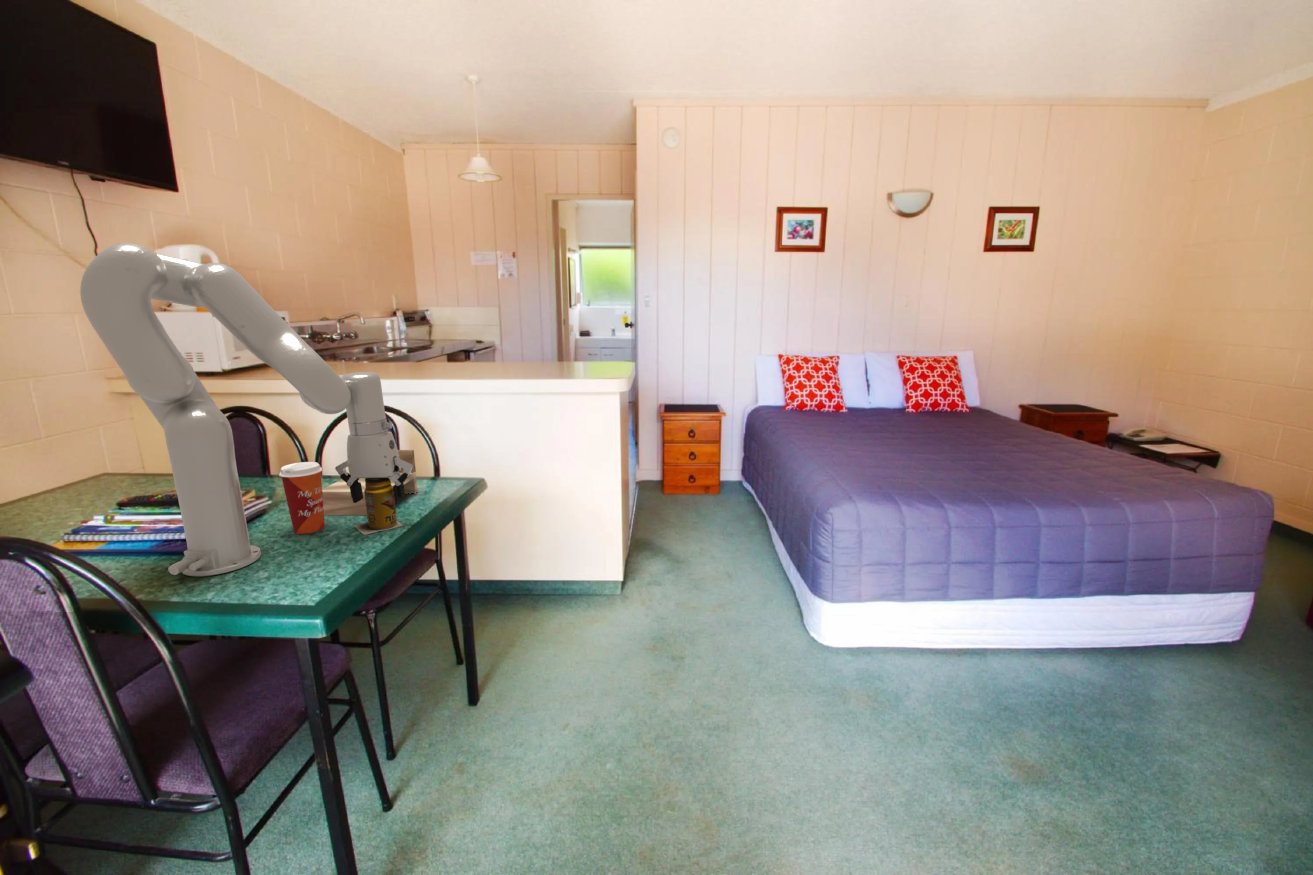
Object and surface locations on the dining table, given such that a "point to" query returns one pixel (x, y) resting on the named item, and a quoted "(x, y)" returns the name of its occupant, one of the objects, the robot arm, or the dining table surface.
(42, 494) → the dining table surface
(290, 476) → the coffee cup
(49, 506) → the dining table surface
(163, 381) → the robot arm
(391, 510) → the condiment
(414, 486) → the shelf
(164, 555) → the dining table surface
